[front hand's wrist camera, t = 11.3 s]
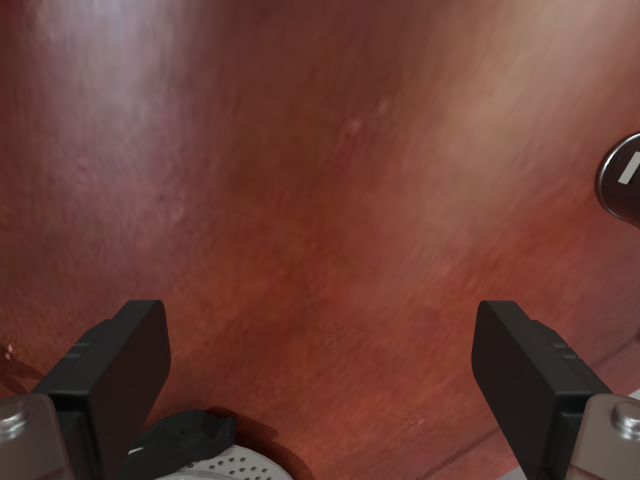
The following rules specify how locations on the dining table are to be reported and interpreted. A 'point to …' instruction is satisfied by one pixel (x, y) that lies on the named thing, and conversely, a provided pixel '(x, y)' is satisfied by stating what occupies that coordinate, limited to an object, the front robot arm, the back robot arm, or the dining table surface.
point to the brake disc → (195, 452)
